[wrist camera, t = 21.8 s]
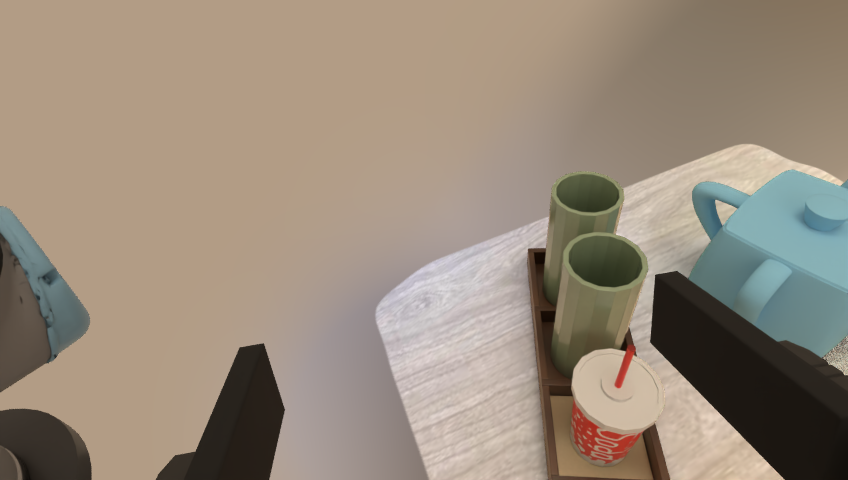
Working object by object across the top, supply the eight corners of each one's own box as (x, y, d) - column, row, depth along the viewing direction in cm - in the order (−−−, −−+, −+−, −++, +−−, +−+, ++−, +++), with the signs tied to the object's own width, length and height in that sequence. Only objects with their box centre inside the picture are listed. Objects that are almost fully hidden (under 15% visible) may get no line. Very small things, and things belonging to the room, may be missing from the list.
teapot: (901, 398, 39) (1031, 299, 29) (686, 368, 43) (740, 272, 33) (825, 243, 51) (899, 138, 42) (663, 231, 55) (697, 133, 46)
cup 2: (539, 366, 45) (550, 271, 35) (564, 321, 48) (581, 223, 38) (601, 397, 42) (632, 303, 32) (623, 347, 45) (658, 248, 35)
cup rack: (664, 499, 36) (673, 489, 34) (549, 493, 37) (552, 483, 35) (604, 261, 53) (607, 246, 51) (527, 263, 54) (528, 248, 52)
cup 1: (532, 300, 50) (540, 202, 40) (555, 264, 53) (567, 164, 44) (586, 323, 47) (609, 224, 38) (607, 283, 51) (633, 182, 41)
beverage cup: (550, 454, 38) (567, 367, 28) (573, 391, 42) (595, 295, 32) (627, 492, 36) (675, 411, 26) (645, 422, 39) (694, 328, 29)
